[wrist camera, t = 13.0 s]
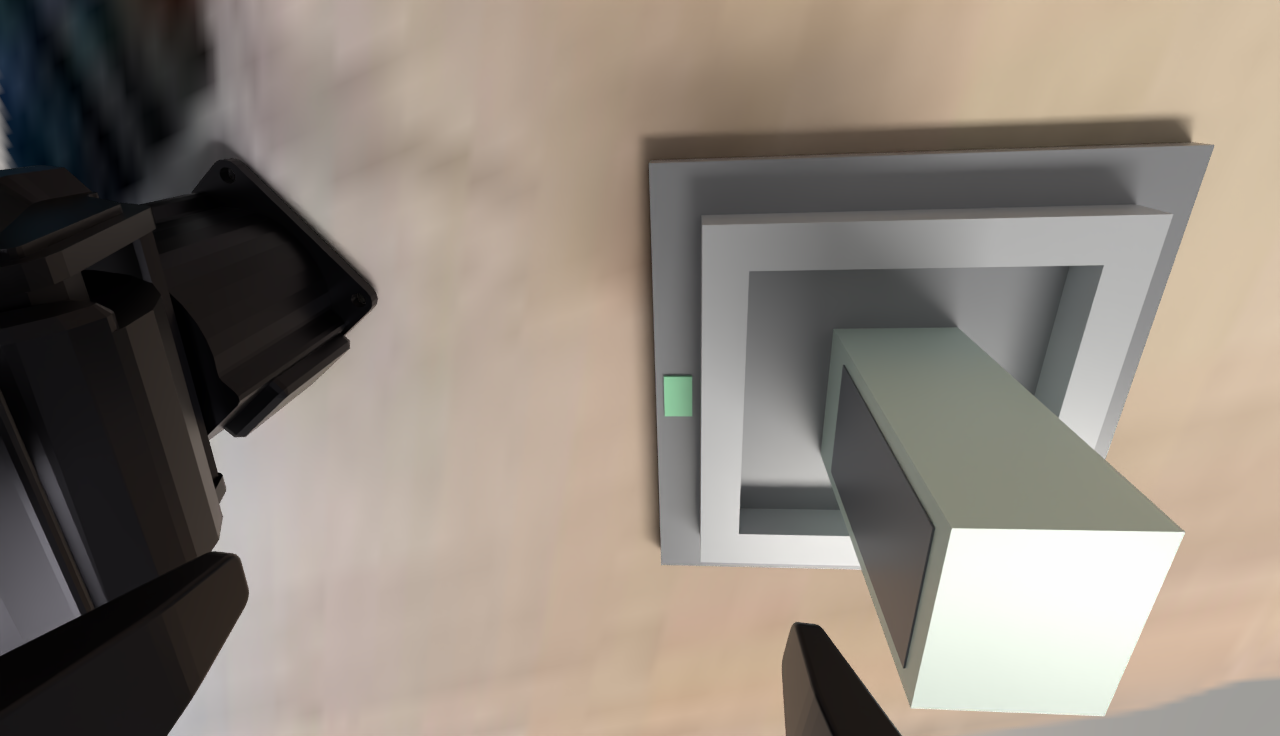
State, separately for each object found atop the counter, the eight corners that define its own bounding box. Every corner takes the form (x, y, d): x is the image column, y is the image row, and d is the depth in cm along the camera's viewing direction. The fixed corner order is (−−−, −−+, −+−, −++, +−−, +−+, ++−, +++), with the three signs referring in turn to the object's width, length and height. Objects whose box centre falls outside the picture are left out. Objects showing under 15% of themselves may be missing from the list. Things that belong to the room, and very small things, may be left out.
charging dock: (662, 551, 26) (659, 592, 24) (650, 160, 19) (645, 169, 17) (1054, 560, 24) (1088, 604, 22) (1192, 142, 18) (1260, 149, 16)
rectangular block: (819, 454, 22) (908, 708, 13) (832, 328, 20) (948, 528, 11) (932, 455, 22) (1104, 716, 13) (957, 327, 20) (1185, 532, 11)
